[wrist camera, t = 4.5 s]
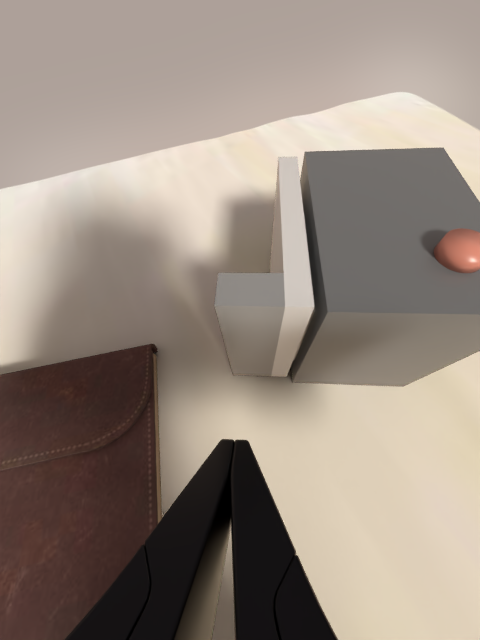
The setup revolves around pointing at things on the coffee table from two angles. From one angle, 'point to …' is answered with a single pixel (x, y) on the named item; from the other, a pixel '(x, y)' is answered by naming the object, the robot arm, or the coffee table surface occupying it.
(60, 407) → the notebook
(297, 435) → the coffee table surface
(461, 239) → the block
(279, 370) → the door
